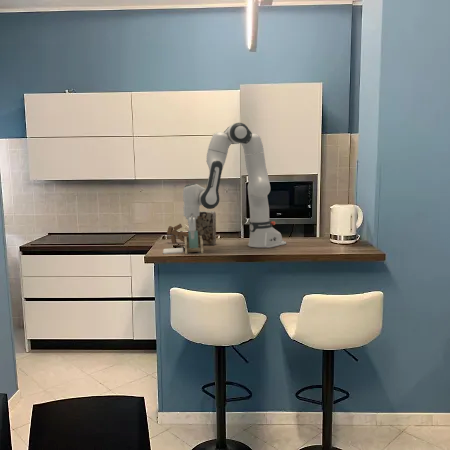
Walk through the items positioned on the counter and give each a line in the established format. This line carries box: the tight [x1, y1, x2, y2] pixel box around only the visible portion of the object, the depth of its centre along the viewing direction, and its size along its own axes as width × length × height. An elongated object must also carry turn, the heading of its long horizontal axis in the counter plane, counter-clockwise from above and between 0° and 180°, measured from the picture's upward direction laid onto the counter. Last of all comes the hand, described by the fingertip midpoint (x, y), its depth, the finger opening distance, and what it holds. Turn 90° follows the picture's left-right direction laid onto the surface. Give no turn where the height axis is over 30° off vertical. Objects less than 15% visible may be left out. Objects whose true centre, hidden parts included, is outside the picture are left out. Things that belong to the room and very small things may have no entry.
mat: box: [162, 247, 184, 255], centre depth 269 cm, size 11×11×1 cm
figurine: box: [166, 223, 189, 244], centre depth 294 cm, size 13×2×15 cm
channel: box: [183, 236, 204, 255], centre depth 268 cm, size 18×10×7 cm, turn 5°
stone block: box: [196, 210, 217, 246], centre depth 286 cm, size 13×7×20 cm, turn 77°
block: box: [187, 230, 198, 248], centre depth 269 cm, size 5×5×9 cm
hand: (192, 237), depth 268 cm, fingers open, 8 cm apart
